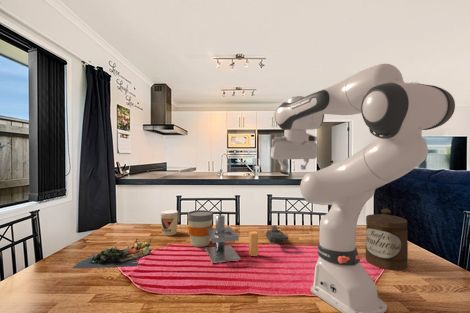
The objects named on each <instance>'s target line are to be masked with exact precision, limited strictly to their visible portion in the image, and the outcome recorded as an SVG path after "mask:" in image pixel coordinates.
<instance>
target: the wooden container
mask: <svg viewBox="0 0 470 313" xmlns="http://www.w3.org/2000/svg"><path fill="white" fill-rule="evenodd" d="M380 212H381V214H380V213H379V214H377V213H376V214H375V213H374V214H368V215H366V216H365V224H366V226H365V227H366V229H365V231H366V232H365V234H366V235H365V260H366V261H367V263H369V264H371V265H372V264H373V266H375V267H377V266H378V268H380V267H381V269H384V268H385V270H393V271H402V270H405V269H407V268H408V264H409V263H408V260H409V259H408V256H409V252H408V251H409V249H408V247H409V246H408V220H407V219H405V218H403V217H400V216H396V215H391V213H392V210H390V209H389V208H387V207H386V208H381V210H380Z"/></svg>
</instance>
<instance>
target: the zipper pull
mask: <svg viewBox="0 0 470 313" xmlns="http://www.w3.org/2000/svg"><path fill="white" fill-rule="evenodd" d="M265 233H266V234H265V236H266V238H267V241H269V243H270V244H278V245H280V244H284V240H289V237H288V236H287V235H286V234H285V233H284V232H283V231H281V230H278V226H277V225H272V226H271V229H269V230H267V231H266V232H265Z"/></svg>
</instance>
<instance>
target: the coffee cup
mask: <svg viewBox="0 0 470 313" xmlns="http://www.w3.org/2000/svg"><path fill="white" fill-rule="evenodd" d="M160 218H161V219H160V220H161V222H160V223H161V234H162V236H168V237H169V236H174V235H176V234H177V231H178V219H179V211H178V210H176V209H166V210H163V211H161V212H160Z"/></svg>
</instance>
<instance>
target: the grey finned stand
mask: <svg viewBox="0 0 470 313" xmlns="http://www.w3.org/2000/svg"><path fill="white" fill-rule="evenodd" d="M225 221H226V217H225V215H222V214H218V215H216V216H215V227H212V228H208V229H207V234H208V236H209V237H210V241H211V242H212V244H215V246H209V247H208V246H205V247H204V249H206V250H205V252H206V251H207V252H206V254H207V253H208V254H207V256H208V255H209V257H210V259H211V261H210V263H211V262H212V263H215V262H225V261H233V260H241V261H242V259H241V256H239V254H238V253H237V251H236V250H235V249H234V248H233V246H232V245H229V244H228V245H225V244H226V243H227V242H238V241H239V239H240V237H239V234H238V233H237V232H236V231H235V230H234V229H233V228H232V227H231V226H226V225H225ZM209 257H208V258H209ZM210 259H209V260H210ZM212 263H211V264H212Z"/></svg>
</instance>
